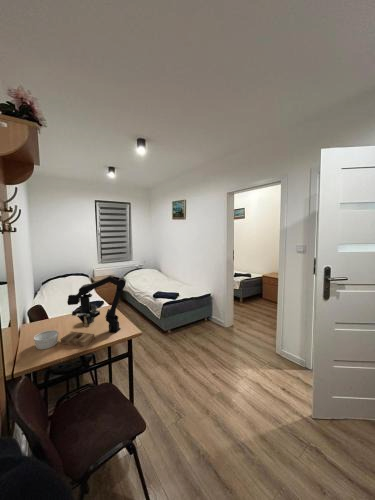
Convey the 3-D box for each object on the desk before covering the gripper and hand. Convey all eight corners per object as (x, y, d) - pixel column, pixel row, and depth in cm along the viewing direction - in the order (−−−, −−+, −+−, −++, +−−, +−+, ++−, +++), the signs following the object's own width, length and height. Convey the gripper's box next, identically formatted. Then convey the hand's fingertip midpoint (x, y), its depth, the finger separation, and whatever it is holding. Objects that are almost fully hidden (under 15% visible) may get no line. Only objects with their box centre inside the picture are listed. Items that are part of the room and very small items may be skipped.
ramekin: (55, 337, 144) (54, 327, 143) (62, 343, 136) (61, 333, 135) (32, 346, 134) (30, 335, 133) (38, 353, 125) (37, 343, 125)
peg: (90, 325, 148) (89, 315, 147) (87, 328, 145) (86, 317, 144) (86, 325, 148) (85, 314, 147) (83, 327, 145) (82, 316, 144)
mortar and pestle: (82, 325, 160) (81, 310, 158) (82, 320, 168) (81, 306, 166) (98, 322, 164) (97, 308, 163) (98, 317, 173) (96, 304, 171)
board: (94, 338, 141) (94, 334, 141) (84, 346, 132) (84, 342, 131) (72, 335, 146) (72, 331, 145) (60, 343, 136) (60, 339, 135)
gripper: (104, 300, 150) (105, 320, 152) (81, 298, 154) (83, 318, 156) (93, 306, 139) (95, 327, 141) (70, 304, 144) (72, 325, 145)
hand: (86, 324), depth 146 cm, fingers closed on peg, 3 cm apart
